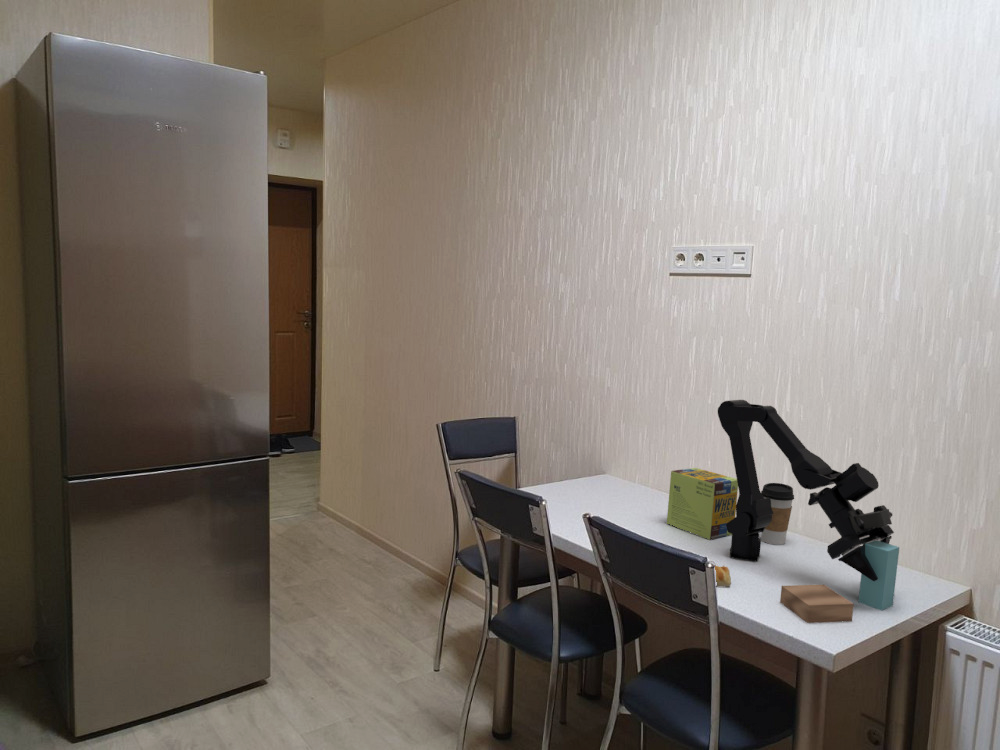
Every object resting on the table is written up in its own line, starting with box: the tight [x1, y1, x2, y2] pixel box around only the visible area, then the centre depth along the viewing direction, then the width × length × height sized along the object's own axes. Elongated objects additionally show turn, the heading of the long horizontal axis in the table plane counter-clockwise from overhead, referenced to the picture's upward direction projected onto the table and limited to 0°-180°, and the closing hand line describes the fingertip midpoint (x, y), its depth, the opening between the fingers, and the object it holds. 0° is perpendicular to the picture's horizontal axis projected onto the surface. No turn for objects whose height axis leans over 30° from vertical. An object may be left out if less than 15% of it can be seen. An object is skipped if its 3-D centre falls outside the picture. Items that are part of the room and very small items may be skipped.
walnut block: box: [779, 584, 854, 624], centre depth 157 cm, size 10×10×4 cm
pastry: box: [714, 565, 732, 588], centre depth 171 cm, size 9×7×4 cm
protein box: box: [666, 467, 739, 541], centre depth 208 cm, size 10×15×16 cm
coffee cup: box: [760, 482, 795, 546], centre depth 201 cm, size 8×8×15 cm
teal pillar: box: [857, 540, 900, 611], centre depth 162 cm, size 5×5×13 cm
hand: (885, 576), depth 161 cm, fingers open, 8 cm apart
